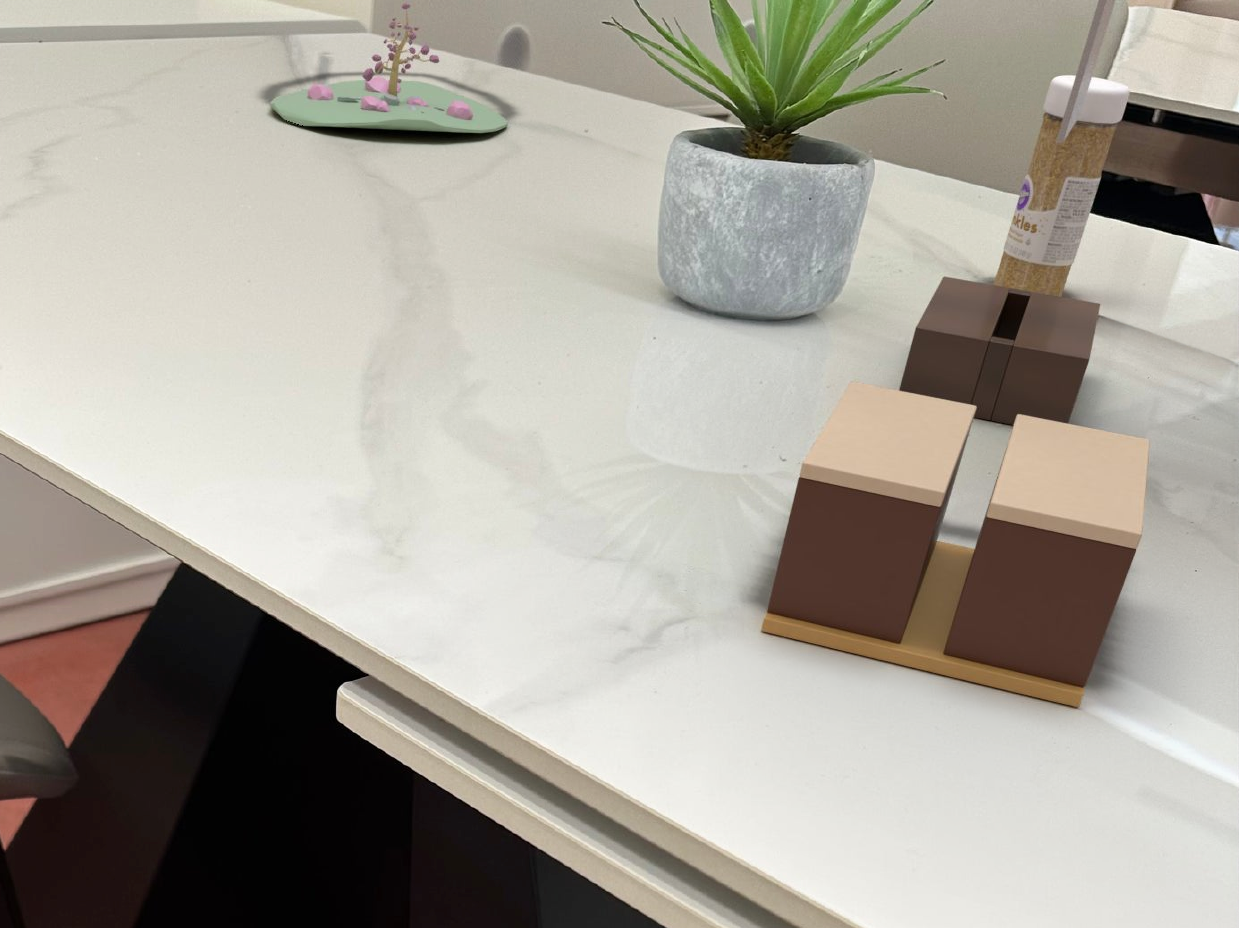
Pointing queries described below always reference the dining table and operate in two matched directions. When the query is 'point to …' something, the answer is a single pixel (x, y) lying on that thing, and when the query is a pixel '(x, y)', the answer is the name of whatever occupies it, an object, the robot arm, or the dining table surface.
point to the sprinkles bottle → (1060, 187)
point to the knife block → (1001, 350)
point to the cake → (951, 574)
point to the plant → (388, 100)
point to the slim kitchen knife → (1086, 67)
